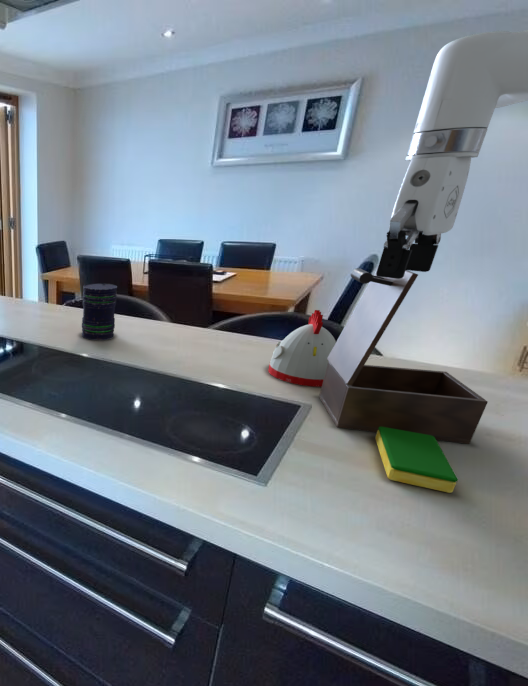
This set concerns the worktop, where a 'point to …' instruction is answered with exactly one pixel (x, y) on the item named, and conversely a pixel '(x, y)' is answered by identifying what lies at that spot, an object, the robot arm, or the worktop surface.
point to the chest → (403, 402)
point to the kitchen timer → (303, 354)
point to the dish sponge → (415, 459)
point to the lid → (368, 321)
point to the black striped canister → (98, 311)
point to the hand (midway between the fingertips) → (402, 273)
